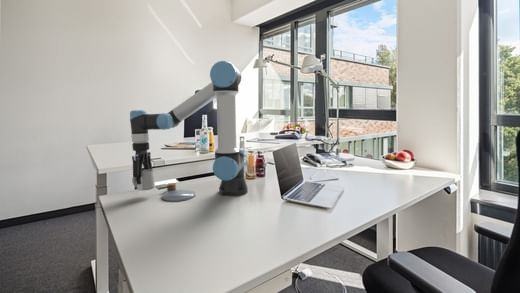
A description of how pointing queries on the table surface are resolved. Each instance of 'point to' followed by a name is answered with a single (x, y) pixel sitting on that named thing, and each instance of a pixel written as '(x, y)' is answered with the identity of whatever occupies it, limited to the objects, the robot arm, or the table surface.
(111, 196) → the table surface
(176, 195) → the dish
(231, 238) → the table surface
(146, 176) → the cup
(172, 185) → the walnut block
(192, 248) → the table surface
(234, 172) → the robot arm
